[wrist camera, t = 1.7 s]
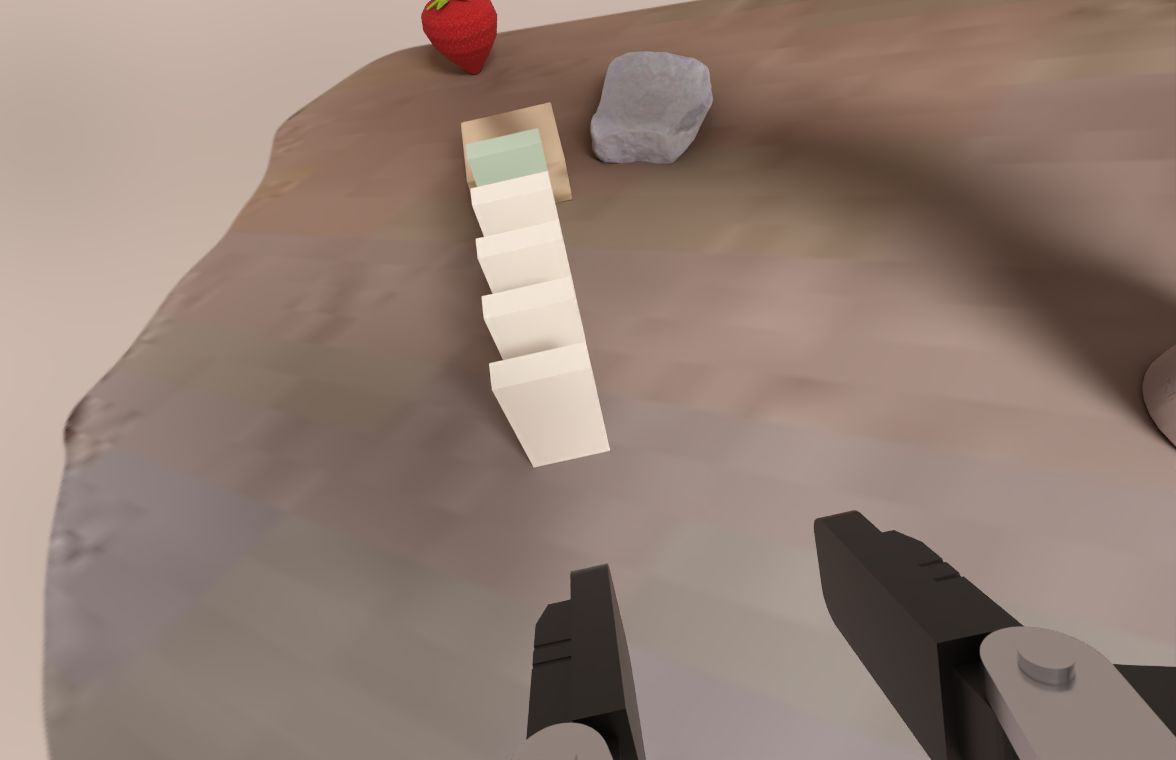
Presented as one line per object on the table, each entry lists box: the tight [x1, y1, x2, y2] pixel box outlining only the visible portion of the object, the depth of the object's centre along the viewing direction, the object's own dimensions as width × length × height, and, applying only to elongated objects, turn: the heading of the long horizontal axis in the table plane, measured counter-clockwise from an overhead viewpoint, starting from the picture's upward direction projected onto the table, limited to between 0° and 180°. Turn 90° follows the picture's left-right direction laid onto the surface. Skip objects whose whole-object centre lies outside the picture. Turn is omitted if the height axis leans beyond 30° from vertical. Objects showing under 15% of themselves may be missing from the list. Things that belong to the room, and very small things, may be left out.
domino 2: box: [470, 171, 575, 291], centre depth 40 cm, size 2×5×10 cm, turn 100°
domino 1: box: [466, 128, 566, 250], centre depth 42 cm, size 2×5×10 cm, turn 100°
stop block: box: [461, 102, 572, 203], centre depth 49 cm, size 8×8×4 cm
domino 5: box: [489, 342, 610, 467], centre depth 33 cm, size 2×5×10 cm, turn 100°
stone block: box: [591, 51, 713, 164], centre depth 52 cm, size 12×5×10 cm
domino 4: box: [482, 276, 597, 390], centre depth 35 cm, size 2×5×10 cm, turn 100°
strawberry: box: [421, 0, 497, 74], centre depth 57 cm, size 6×8×10 cm
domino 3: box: [476, 220, 585, 337], centre depth 38 cm, size 2×5×10 cm, turn 100°
